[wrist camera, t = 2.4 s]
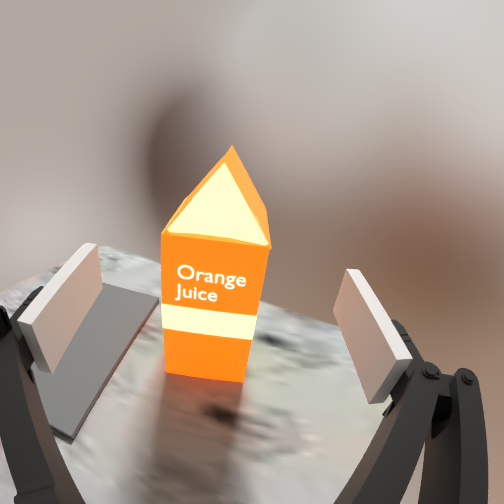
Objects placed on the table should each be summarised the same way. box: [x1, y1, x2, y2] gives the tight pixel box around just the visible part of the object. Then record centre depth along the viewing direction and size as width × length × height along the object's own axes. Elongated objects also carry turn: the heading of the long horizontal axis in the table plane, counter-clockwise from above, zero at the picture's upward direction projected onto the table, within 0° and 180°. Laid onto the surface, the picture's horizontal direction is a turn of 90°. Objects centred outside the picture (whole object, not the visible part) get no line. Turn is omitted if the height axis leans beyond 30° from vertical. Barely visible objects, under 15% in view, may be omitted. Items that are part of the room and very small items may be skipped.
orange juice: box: [161, 146, 271, 382], centre depth 26 cm, size 8×9×20 cm
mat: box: [31, 283, 159, 439], centre depth 27 cm, size 14×21×1 cm, turn 172°
